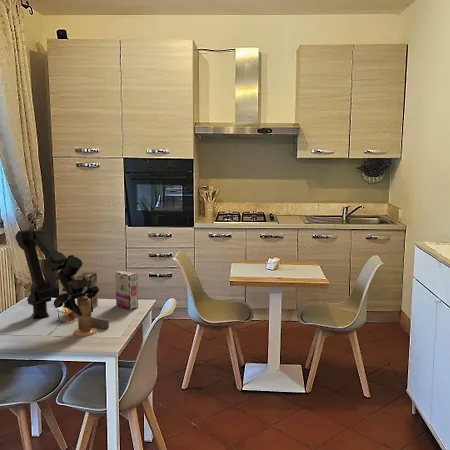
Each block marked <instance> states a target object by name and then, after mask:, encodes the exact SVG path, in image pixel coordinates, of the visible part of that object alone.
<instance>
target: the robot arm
mask: <svg viewBox="0 0 450 450" xmlns="http://www.w3.org/2000/svg"><path fill="white" fill-rule="evenodd" d="M15 240H16V243H17V245H18V247H19V248H20V249H21V250H22V251H23V252H24V256H25V259H26V263H27V268H28V270H29V274H30V279H31V282H32V283H31V284H30V285H31V286H30V288H29V289H30V294H29V296H28V297H27V298H26V300H27V304H28V305H31V306H32V312H33V313H31V316H32V318H33V320H36V319H42V318H47V317H50V314H49V312H48V306H47V304H48V302H52V297H53V288H52V286H51V282H50V281H47V280H46V279H45V277H44V275H43V271H42V266H41V264H40V263H41V262H40V260H39V256H38V252H37V248H36V247H38V249H39V251H40V252H41V253H42V254H43V255H44V258H46V265H47V267H48V269H49V271H51V272H57V273H56V274H55V275H56V276H55V280H56V281H58V280H59V282H60V284H61V285H62V287H63V288H62V291H63V292H65V293H62V294H61V293H60V294H58V295H57V296H56V298H54V299H55V300H53V306H54V308H55V309H58V308H64V309H68V311H71V312H73V313H74V314H76V315H77V316H78V315H79V316H81V315H82V314H81V312H80V310H79V308H78V306H77V302H76V300H77V298H80V297H83V296H87V297H88V298H90V299H91V313H93V312H94V309H93V306H92V298H93V297H95V295H96V294H97V295H98V293H99V292H100V288H99V286H98V285H97V286H91V287H88V289H87V290H86V291H84V292H83V290H84V289H85V288H84V287H86V286H89V285H88V284H89V283H91V280H90V278H89V276H85V277H83V279H81V280H78V279H76V277H75V276H76V275H77V273H78V272H79V270H80V269H81V268H82V267H83V261H82V259H80V258H79V257H77V256H75V255H74V254H70V255H68V256H66V255H65V254H64V253H62V252H60V251H58V250H56V248H55V247H54V246H53V244H52V243H51V242H50V240H49V239H48V238H47V236H45V233H44V231H43V229H37V230H34V229H23V230H18V231H17V233H16V234H15Z"/></svg>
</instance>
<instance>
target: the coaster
mask: <svg viewBox="0 0 450 450" xmlns="http://www.w3.org/2000/svg"><path fill="white" fill-rule="evenodd" d="M97 332H98V329H97V328H96V327H95V326H92V329H91V330H88V331H80V330H79V329H78V328H76V329H75V330H73V334H74V336H77V337H89V336H93V335H95V334H97Z"/></svg>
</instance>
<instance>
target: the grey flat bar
mask: <svg viewBox="0 0 450 450" xmlns="http://www.w3.org/2000/svg"><path fill="white" fill-rule="evenodd" d="M91 317H92V327H95V328H96V327H97V328H101V329H106V330H107V329H109V328H110V319H107V318H100V317H94V316H91Z"/></svg>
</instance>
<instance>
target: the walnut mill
mask: <svg viewBox="0 0 450 450" xmlns="http://www.w3.org/2000/svg"><path fill="white" fill-rule="evenodd" d="M76 305H78V308H79V310H80V312H81V314H82V315H81V316H79V315H77V322H78V323H77V324H78V328H77V329H79V330H80V331H88V330H91V329H92V327H93V326H92V317H93V316H92V312H91V299H90V298H88V297H87V296H83V297H80V299H78V300H77V299H76Z"/></svg>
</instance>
